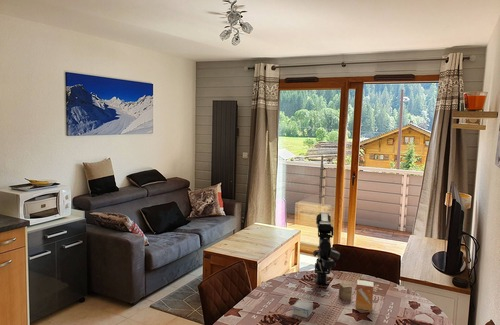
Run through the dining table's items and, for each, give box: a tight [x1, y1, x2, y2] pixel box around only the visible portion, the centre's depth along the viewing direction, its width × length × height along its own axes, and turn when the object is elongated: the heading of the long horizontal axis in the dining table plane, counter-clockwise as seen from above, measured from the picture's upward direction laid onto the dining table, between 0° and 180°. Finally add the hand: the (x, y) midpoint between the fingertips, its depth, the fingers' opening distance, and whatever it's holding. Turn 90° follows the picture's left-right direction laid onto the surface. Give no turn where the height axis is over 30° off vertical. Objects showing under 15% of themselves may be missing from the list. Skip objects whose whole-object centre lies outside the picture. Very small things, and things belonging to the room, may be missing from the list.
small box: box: [355, 279, 375, 312], centre depth 199 cm, size 8×6×13 cm
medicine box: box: [292, 299, 314, 319], centre depth 192 cm, size 8×4×9 cm
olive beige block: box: [338, 282, 353, 301], centre depth 210 cm, size 5×5×7 cm
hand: (323, 273), depth 212 cm, fingers closed
